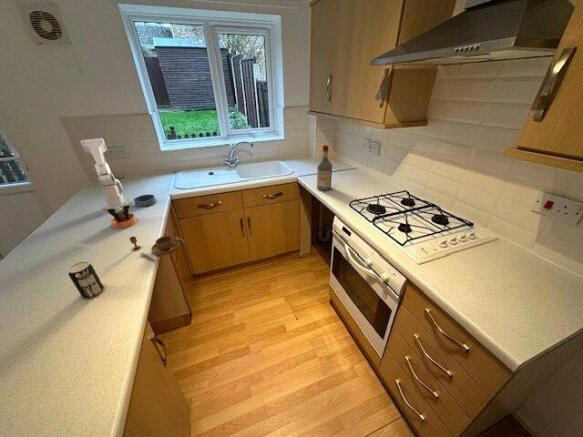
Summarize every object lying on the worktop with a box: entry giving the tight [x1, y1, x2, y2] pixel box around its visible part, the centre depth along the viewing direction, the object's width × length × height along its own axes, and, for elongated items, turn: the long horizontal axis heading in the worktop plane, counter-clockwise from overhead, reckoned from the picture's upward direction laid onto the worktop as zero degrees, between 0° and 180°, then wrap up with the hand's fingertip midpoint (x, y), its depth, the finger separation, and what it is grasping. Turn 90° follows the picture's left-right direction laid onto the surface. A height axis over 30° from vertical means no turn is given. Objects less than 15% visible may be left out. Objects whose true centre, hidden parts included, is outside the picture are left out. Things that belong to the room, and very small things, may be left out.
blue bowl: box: [132, 193, 157, 208], centre depth 155 cm, size 12×12×4 cm
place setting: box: [129, 235, 188, 262], centre depth 111 cm, size 18×20×6 cm
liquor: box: [316, 144, 333, 192], centre depth 163 cm, size 9×9×30 cm
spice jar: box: [116, 209, 128, 222], centre depth 130 cm, size 4×4×8 cm
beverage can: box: [67, 261, 104, 299], centre depth 85 cm, size 7×7×12 cm
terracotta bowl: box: [110, 212, 138, 230], centre depth 131 cm, size 11×11×4 cm
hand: (123, 219), depth 131 cm, fingers closed on spice jar, 4 cm apart
